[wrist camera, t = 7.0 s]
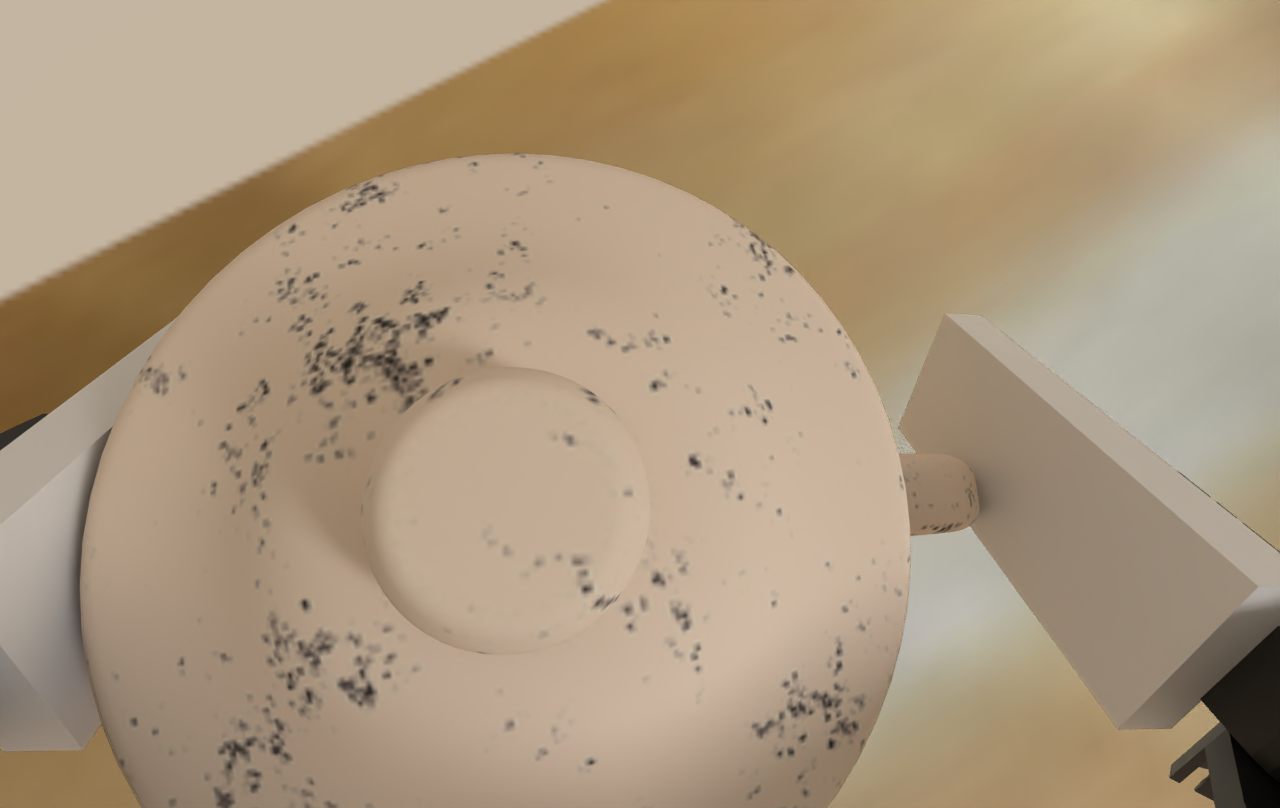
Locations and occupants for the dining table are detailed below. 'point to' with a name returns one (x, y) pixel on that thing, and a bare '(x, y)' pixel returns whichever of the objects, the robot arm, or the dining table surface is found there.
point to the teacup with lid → (502, 512)
